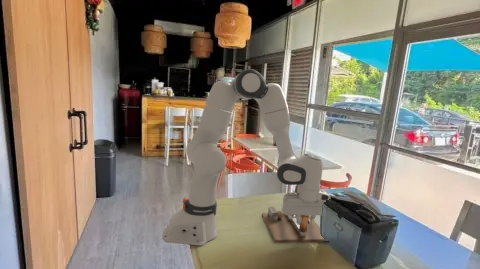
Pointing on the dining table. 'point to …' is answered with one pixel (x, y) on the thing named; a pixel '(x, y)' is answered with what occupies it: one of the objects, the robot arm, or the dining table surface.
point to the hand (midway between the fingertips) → (304, 223)
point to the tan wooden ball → (280, 214)
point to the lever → (300, 228)
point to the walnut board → (289, 229)
